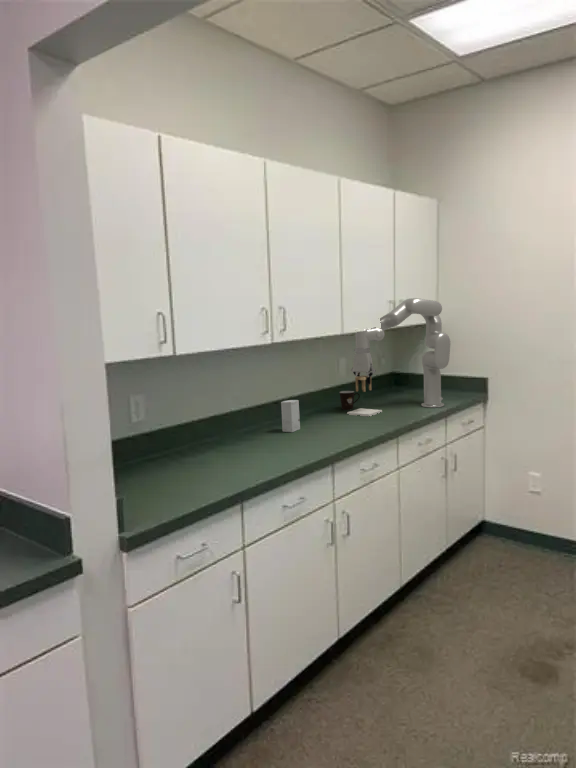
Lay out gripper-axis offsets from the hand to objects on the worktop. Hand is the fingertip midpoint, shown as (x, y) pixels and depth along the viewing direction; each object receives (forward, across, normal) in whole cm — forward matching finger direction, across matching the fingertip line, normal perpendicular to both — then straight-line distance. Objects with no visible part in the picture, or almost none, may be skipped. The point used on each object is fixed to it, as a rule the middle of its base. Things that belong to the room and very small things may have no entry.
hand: (363, 383), depth 323 cm
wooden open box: (+4, 0, 0) cm, 4 cm away
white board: (+17, 0, 0) cm, 17 cm away
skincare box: (+17, -10, -54) cm, 57 cm away
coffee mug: (+17, -15, +9) cm, 24 cm away
